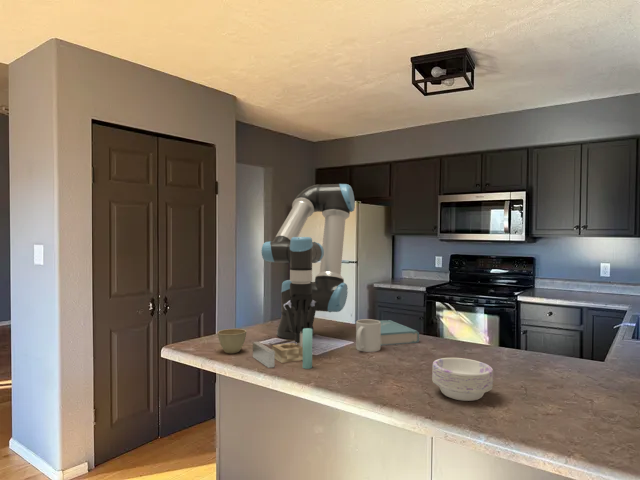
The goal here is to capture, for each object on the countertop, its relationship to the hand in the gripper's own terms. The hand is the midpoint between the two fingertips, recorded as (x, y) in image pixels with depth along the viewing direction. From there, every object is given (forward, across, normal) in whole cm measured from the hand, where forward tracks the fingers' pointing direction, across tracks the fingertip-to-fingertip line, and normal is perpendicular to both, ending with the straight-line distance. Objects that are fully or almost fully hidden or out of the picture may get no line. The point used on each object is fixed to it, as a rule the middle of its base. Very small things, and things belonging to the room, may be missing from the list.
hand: (300, 351), depth 155 cm
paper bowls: (+2, -21, +52) cm, 56 cm away
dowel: (+2, +4, +12) cm, 12 cm away
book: (+2, -44, -10) cm, 45 cm away
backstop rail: (+2, +14, 0) cm, 14 cm away
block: (+2, +5, 0) cm, 5 cm away
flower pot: (+2, +18, -17) cm, 25 cm away
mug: (+2, -26, +2) cm, 26 cm away
